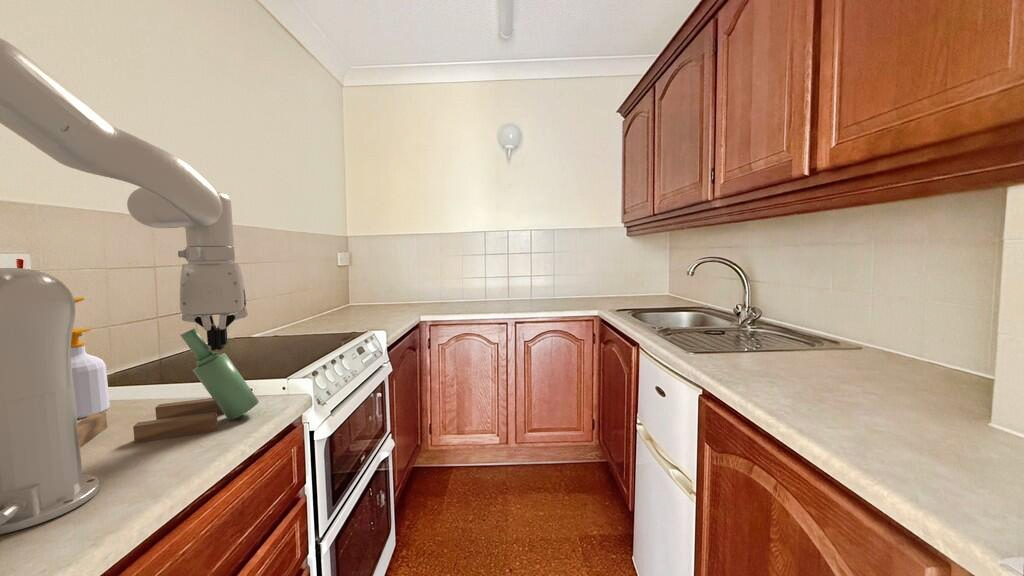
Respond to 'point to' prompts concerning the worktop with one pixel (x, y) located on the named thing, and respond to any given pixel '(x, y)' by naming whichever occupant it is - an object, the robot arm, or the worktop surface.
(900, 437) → the worktop surface
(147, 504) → the worktop surface
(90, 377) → the soap bottle
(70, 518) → the worktop surface
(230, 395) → the bottle
